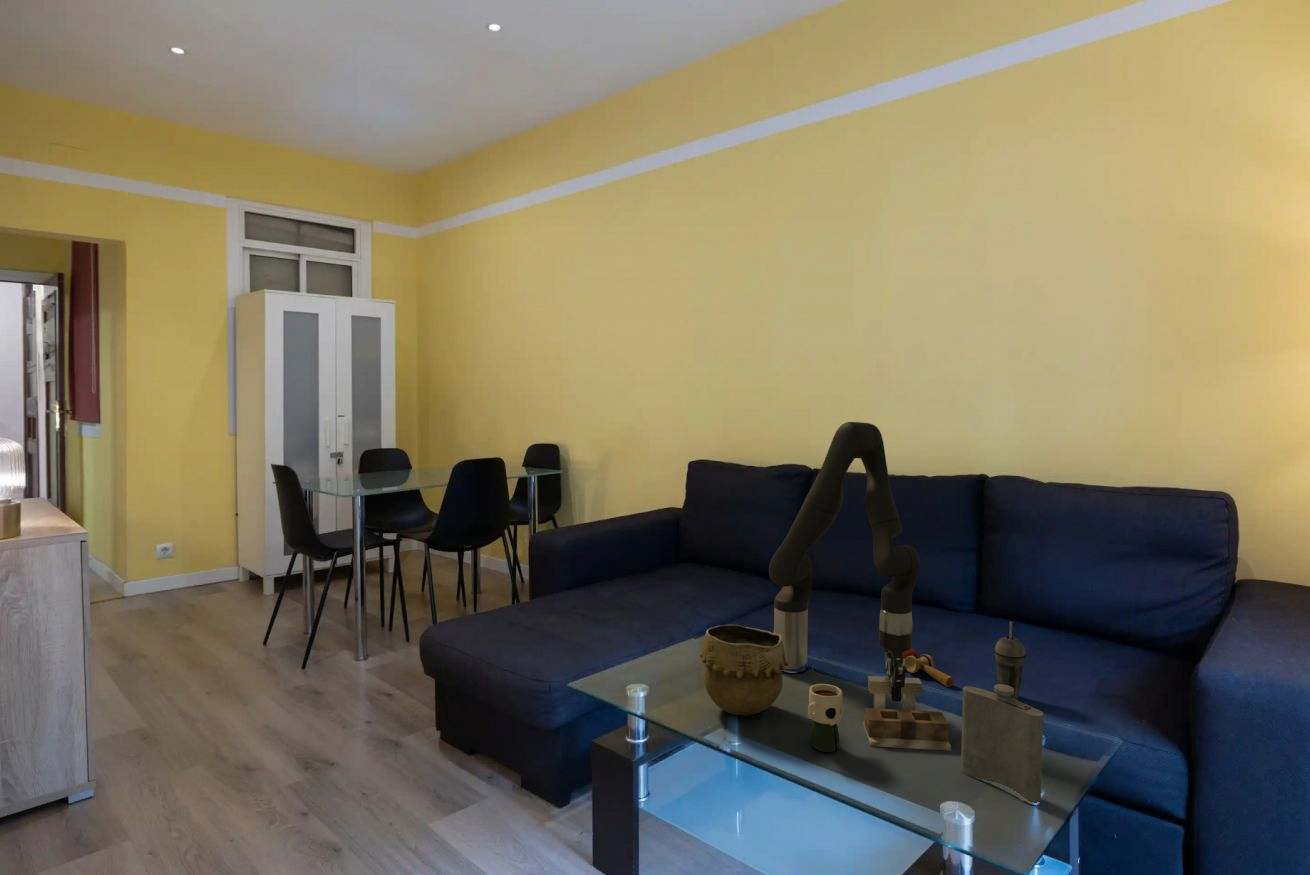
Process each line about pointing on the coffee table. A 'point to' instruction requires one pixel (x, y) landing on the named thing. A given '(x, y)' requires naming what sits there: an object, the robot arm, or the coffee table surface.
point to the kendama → (925, 667)
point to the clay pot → (743, 668)
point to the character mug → (825, 716)
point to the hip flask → (1002, 740)
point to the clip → (883, 687)
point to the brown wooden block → (906, 729)
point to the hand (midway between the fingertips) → (894, 696)
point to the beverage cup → (1010, 662)
